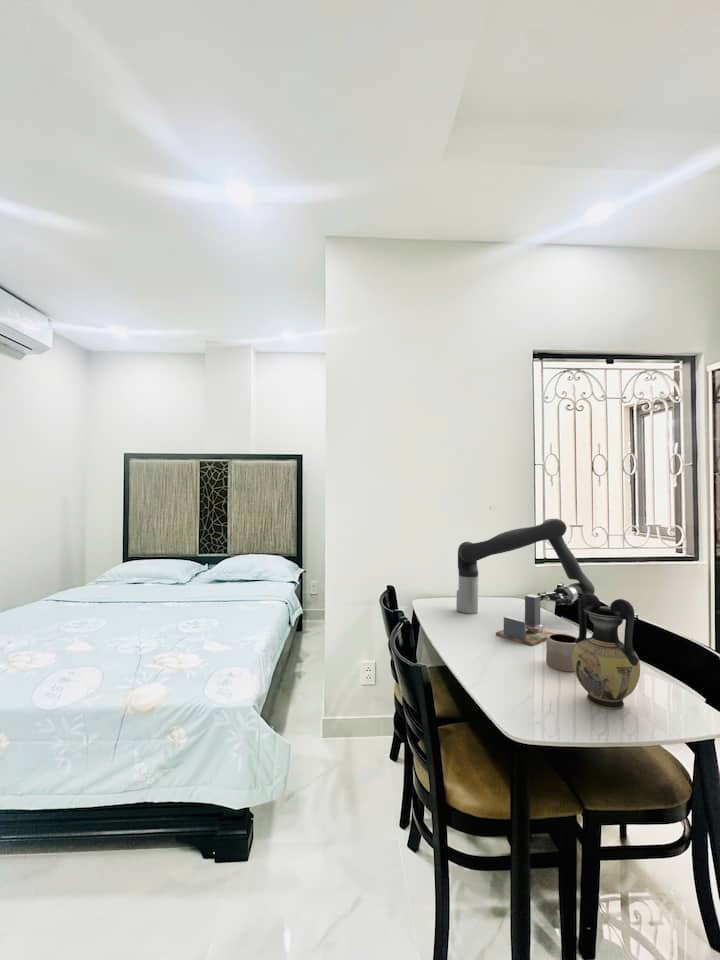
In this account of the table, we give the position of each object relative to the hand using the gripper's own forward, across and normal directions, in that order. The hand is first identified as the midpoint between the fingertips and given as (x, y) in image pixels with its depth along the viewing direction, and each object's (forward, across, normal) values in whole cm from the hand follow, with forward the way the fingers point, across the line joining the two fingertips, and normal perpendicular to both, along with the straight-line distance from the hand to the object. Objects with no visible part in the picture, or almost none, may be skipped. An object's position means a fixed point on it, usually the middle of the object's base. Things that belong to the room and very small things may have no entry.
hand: (547, 600), depth 198 cm
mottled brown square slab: (+16, 0, +12) cm, 20 cm away
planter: (+36, +25, +12) cm, 45 cm away
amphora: (+52, +45, +12) cm, 69 cm away
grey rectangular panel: (+25, 0, +10) cm, 27 cm away
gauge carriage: (+14, 0, +10) cm, 17 cm away
